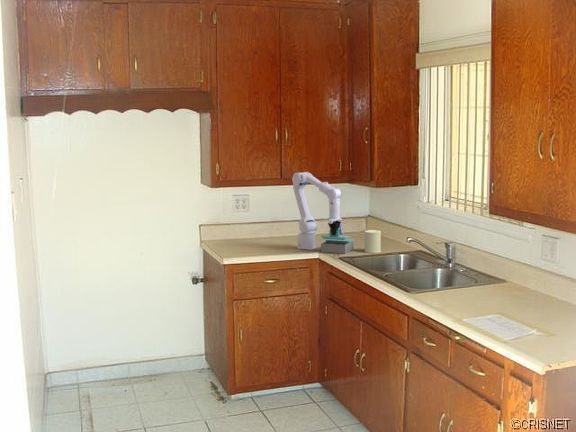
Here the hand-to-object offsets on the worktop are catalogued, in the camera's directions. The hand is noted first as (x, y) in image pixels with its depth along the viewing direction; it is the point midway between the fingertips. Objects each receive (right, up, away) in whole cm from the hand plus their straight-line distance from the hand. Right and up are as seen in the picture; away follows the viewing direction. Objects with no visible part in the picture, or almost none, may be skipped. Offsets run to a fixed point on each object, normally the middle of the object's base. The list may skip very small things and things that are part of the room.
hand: (334, 234), depth 386 cm
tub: (+2, -9, +6) cm, 12 cm away
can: (+22, -10, +4) cm, 24 cm away
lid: (+1, -2, +2) cm, 3 cm away
